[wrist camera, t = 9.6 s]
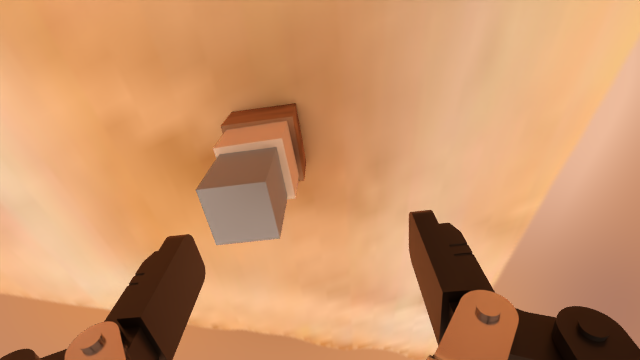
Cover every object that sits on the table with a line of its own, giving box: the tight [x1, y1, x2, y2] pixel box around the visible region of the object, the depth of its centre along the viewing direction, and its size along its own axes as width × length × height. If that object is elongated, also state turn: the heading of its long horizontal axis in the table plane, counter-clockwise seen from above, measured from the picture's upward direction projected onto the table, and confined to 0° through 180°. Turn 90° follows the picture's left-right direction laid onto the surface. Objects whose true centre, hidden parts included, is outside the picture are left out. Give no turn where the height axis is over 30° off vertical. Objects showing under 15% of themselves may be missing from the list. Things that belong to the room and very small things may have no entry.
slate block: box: [196, 147, 287, 245], centre depth 27 cm, size 5×5×6 cm
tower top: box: [213, 121, 299, 199], centre depth 31 cm, size 6×6×4 cm
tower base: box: [221, 104, 306, 181], centre depth 35 cm, size 7×7×4 cm
